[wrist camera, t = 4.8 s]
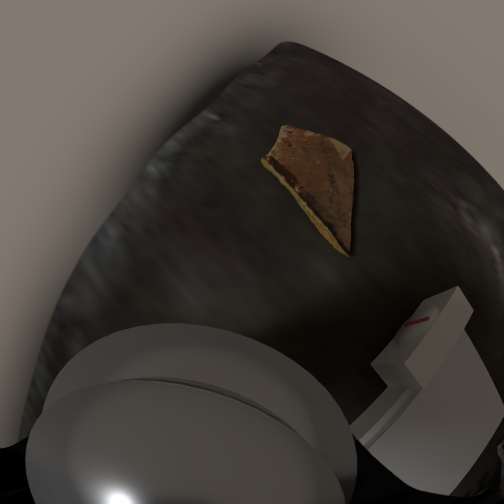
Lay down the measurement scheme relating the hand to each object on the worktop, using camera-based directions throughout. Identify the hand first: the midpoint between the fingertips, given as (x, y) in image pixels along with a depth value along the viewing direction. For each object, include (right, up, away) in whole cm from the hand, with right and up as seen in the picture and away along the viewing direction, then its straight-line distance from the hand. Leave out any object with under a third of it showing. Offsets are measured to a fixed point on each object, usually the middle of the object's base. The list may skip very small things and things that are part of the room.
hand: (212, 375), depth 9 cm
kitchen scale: (+14, -8, +7) cm, 18 cm away
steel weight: (-1, -4, +6) cm, 7 cm away
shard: (+7, +10, +14) cm, 18 cm away
